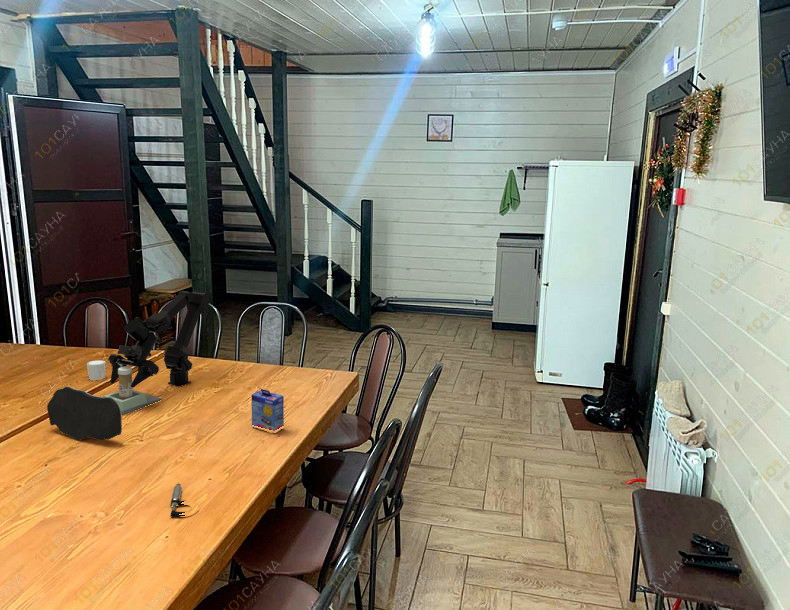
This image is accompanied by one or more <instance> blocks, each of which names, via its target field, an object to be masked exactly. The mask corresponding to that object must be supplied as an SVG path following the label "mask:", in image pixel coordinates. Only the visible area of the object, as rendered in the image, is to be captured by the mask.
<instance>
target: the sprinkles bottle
mask: <svg viewBox="0 0 790 610" xmlns="http://www.w3.org/2000/svg"><path fill="white" fill-rule="evenodd" d="M118 375H119V377H118V391H119V399H120V400H125V399H128V398H131V397H132V395H133V392H132V390H133V388H132V387H131V384H132V382H133V368H132V366H126V367H120V368H118Z"/></svg>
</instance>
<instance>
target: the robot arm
mask: <svg viewBox="0 0 790 610" xmlns="http://www.w3.org/2000/svg"><path fill="white" fill-rule="evenodd" d="M210 300H211V299H210V297H209V295H208V294H207V293H204V292H195V291H193V292H190V291H186V290H185V291H184V290H182V291H179V292H178V294H177V295H176V296H175V297H174V298H173V299H172V300H171V301H170V302H169V303H168V304H167V305H166V306H165V307H164V308H163V309H162V310H160V311H159V312H156V313H154V314H152V315H150V316H148V317H147V318H146V319H145V320H144V321H143V319H142V318H141V317H137V316H135V317H134V319H132V320H129V321H128V322H127V323H126V324H125V325H124V326H123V327H124V331H125V332H126V334H127V335H129V336H130V337H131V338H132V339H133V340H135V341H136V342H135V344H132V345H131V346H127V345H122V344H119V345H118V350H117V353H116V354H115V353H111V354H109V357H108V359H107V361H108V362H109V364H111V367H112V368H111V375H110V380H109V381H110V382H109V383H111V384H114V383H115V382H116V381H117V380H119V375H118V368H120V367H135V368H137V373H136V374H135V377H134V378H133V379H132V384H131V387H132V389H134V388H135V387H136V386H138V385H139V384H140V383H142V382H143V381H146V380H147V379H148V378H150V377H153V376H154V375H156V376H157V375H158V373H159V371H160V367H159V366H158V364H157V363H155V362H154V361H153V360H148V358H151V356H152V355H153V354H152V353H151V352H152V350H153V349H154V346H155V344H161V339H160V336H159V335H156V334H161V335H163V334H165V333H166V332H167V330H168V329H169V327H170V326H171V322H172V320H173V319H174V318H175V317H176V316H177V314H179V313H180V312H181V311H182V310H183V308H185V307H186V309H187V311H186V314H185V316H184V319H183V322H182V324H181V327H180V329H179V332H178V334H177V337H176V340H175V343H174V344H172V345H168V346H167V348H166V349H165V350H166V351H165V353H164V354H163V356H164V357H163V362H164V364H165V367H166V369H167V370H169V371H170V373H169V381H168V383H167V384H168V385H170V384H171V386H174V385H175V386H174V387H177V386H180V387H182V385H183V386H185V384H186V385H189V384H191V383H192V381H191V380H189V372H190V370H192V368H193V363H192V361H190V359H189V350H188V348H189V347H188V346H189V344H190V341H191V338H192V337H193V334H194V330H195V328H196V325H197V323H198V320H199V318H200V315H202V314H203V313H204V312H205V311H206V310H207V308H208V306H209V304H210ZM122 355H123V356H122ZM188 383H189V384H188Z"/></svg>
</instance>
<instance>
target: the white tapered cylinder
mask: <svg viewBox="0 0 790 610" xmlns="http://www.w3.org/2000/svg"><path fill="white" fill-rule="evenodd" d="M106 365H107V363H106V361H105V360H100V359H97V360H91V361H88V362H87V363H86V367H87V374H88V379H90V380H98V379H103V378H105V379H106ZM90 380H89V381H90Z"/></svg>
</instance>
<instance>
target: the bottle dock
mask: <svg viewBox="0 0 790 610" xmlns="http://www.w3.org/2000/svg"><path fill="white" fill-rule="evenodd" d="M132 392H133V395H132V397H131V398H128V399H125V400H120V399H119V390H118V391H115V392H112V393H109V394H106V395H103V397H112V398H114V399H115V400H116V401H117V403H118V404H119V406H120V409H121V413H122V416H125V414H126V415H128V413H129V414H131V413H133V411H134V412H136V411H135V410H137V411H139V410H141V409H140V408H142V409H144V408H143V407H145V406H148V405H150V404H153V403H155V402H158V401H160V400H162V397H159V396H155V395H151V394H150V393H149V394H148V393H145V392H143V391H139V390H138V391H137V390H134V389H132ZM162 401H163V400H162ZM158 403H159V402H158ZM153 405H154V404H153ZM150 406H151V405H150ZM148 407H149V406H148ZM145 408H146V407H145ZM138 409H139V410H138Z"/></svg>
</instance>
